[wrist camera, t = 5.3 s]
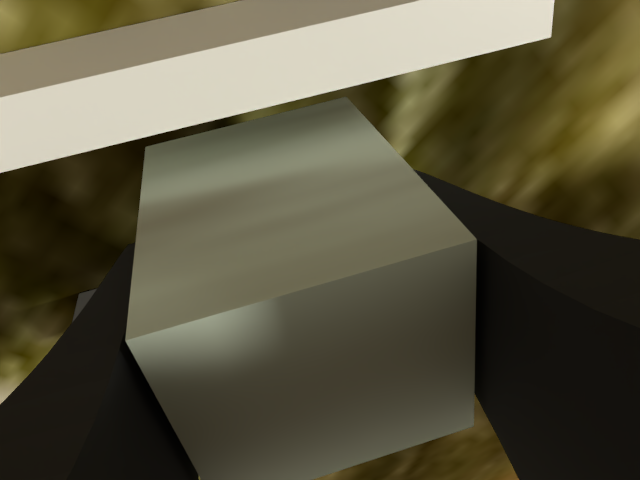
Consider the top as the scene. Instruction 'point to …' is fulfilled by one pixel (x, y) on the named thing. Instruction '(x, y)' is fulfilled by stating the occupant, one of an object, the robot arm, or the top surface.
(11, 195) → the top surface
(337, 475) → the top surface
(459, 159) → the top surface
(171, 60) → the board
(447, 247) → the cabinet block
